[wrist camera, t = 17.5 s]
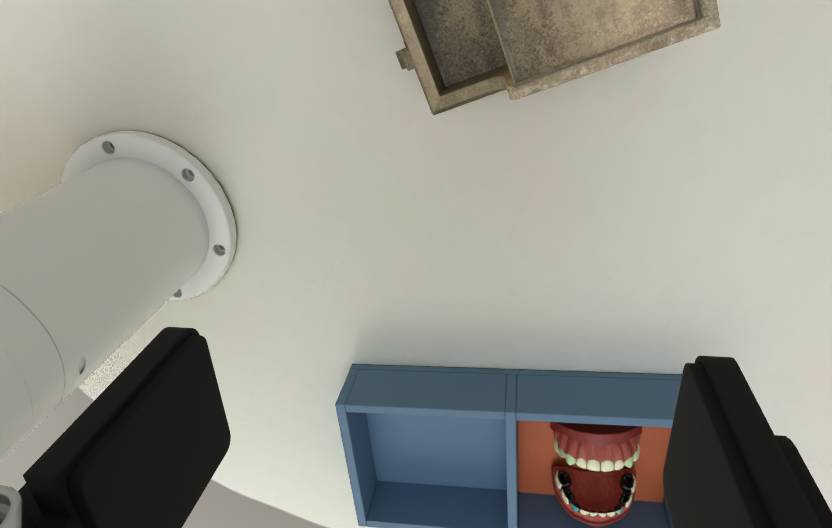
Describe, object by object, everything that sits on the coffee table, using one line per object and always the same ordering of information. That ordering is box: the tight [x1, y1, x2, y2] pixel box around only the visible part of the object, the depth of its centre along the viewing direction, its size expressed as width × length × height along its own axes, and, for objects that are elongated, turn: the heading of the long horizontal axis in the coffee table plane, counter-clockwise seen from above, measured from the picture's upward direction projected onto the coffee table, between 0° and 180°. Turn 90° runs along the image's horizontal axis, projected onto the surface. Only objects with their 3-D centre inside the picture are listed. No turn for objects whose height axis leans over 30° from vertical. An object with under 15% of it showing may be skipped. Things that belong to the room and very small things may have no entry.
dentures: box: [550, 422, 642, 527], centre depth 42 cm, size 6×5×9 cm
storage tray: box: [335, 364, 682, 528], centre depth 43 cm, size 24×12×5 cm, turn 95°
